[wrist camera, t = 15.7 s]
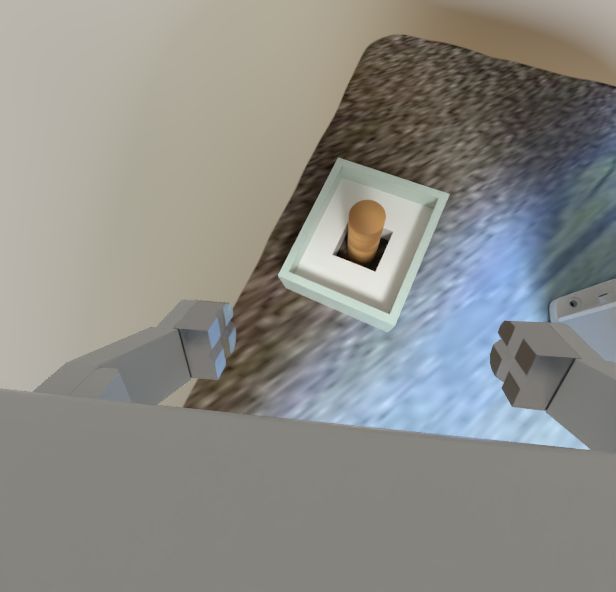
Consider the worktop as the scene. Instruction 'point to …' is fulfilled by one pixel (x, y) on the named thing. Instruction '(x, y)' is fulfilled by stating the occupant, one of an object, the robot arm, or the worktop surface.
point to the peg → (365, 231)
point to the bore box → (397, 230)
